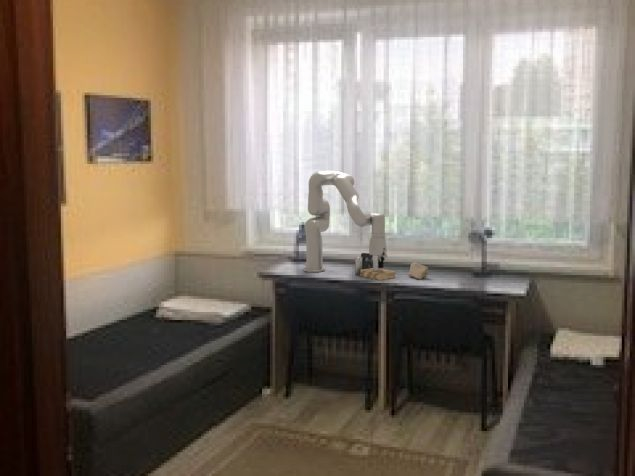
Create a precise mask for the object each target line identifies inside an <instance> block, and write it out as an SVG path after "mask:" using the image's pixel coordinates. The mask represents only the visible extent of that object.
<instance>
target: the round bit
mask: <svg viewBox="0 0 635 476" xmlns="http://www.w3.org/2000/svg"><path fill="white" fill-rule="evenodd" d="M354 259H355V262H354V263H355V264H354V265H355V266H354V272H355V273H354V274H355V276H356V275H357V276H360V272H361V270H362V257H361V256H355V257H354Z"/></svg>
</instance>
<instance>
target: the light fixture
mask: <svg viewBox="0 0 635 476" xmlns="http://www.w3.org/2000/svg"><path fill="white" fill-rule="evenodd" d="M360 257H362V270H364V269H370V268H373V260H372V257H371V256H370V254H369V252H368V253H367V252H361V254H360Z"/></svg>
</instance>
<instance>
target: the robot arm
mask: <svg viewBox="0 0 635 476" xmlns="http://www.w3.org/2000/svg"><path fill="white" fill-rule="evenodd" d="M354 185H355V178H354V177H353V175H352V174H349V173H346V172H340V171H337V170H320V171H317V172H315V173H313V174H312V175H310V177H309V180H308V194H307V195H308V196H307V197H308V198H307V199H308V200H307V212H308V214H309V215H311V216H314V217H310V218H309V219H307V220H306V221H305V224H304V231H305V242H306V243H305V244H306V247H305V249H306V258H305V259H306V262H304V263H303V266H305V267H304V268H303V271H304V272H306V273H307V272H308V273H321V272H324V271H326V268H325V267H323V238H322V233H324V232H326V231H328V229H329V227H330V216H331V205H330V203H329V201H328V200H327V199H325V198H324V197H323V196H324V191H323V186H324V187H325V186H335V188H336V189H337V192H338V193H339V194H340V195H341V197H342V199H343V200H344V202H345V203H346V209H347V212H348V214H349V216H350V218H351V219H352V221H353V223H354V224H355V225H356V226H358V227H360V228H361V227H363V228H364V227H367V226H371V232H370V235H371V237H370V239H369V246H368V253H369V254H370V256H371V257H372V260H373V255H375V256H379V268H383V269H384V261H385V260H386V258H387V257H388V254H387V240H386V215H385V214H384V213H381V212H379V213H378V212H376V213H375V212H368V211H367V212H363V211H362V210H361V208H360V206H359V203H358V200H359V198H360V195H359V193H358V191H357V190H356V189H355V187H354ZM381 257H382V258H381Z"/></svg>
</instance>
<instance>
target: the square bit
mask: <svg viewBox="0 0 635 476" xmlns="http://www.w3.org/2000/svg"><path fill="white" fill-rule="evenodd" d="M381 258H382V257H381ZM383 269H384V267H383V268H379V256H375V255H373V271H376V272H380V271H383Z"/></svg>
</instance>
